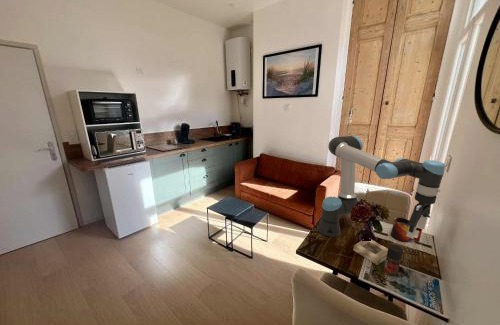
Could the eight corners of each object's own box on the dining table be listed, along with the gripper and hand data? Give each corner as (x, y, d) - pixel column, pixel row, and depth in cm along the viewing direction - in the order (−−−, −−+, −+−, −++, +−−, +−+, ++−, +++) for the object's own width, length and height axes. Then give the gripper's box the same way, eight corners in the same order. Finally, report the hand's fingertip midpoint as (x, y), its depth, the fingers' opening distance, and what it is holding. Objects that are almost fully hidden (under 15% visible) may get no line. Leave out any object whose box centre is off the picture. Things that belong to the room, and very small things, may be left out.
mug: (419, 243, 129) (423, 226, 125) (396, 241, 130) (400, 225, 126) (409, 233, 138) (413, 218, 134) (387, 232, 139) (391, 217, 136)
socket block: (353, 250, 123) (354, 245, 122) (366, 242, 130) (367, 237, 129) (377, 265, 111) (378, 259, 110) (390, 255, 118) (391, 250, 117)
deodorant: (380, 268, 109) (386, 244, 105) (389, 266, 110) (395, 243, 106) (390, 277, 103) (396, 252, 99) (399, 275, 104) (406, 250, 100)
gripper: (426, 203, 85) (414, 246, 91) (445, 190, 99) (433, 227, 105) (405, 197, 91) (395, 237, 97) (426, 185, 105) (416, 221, 111)
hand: (415, 232), depth 101 cm, fingers open, 13 cm apart
